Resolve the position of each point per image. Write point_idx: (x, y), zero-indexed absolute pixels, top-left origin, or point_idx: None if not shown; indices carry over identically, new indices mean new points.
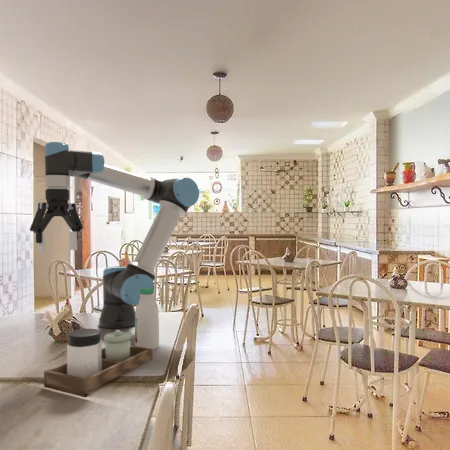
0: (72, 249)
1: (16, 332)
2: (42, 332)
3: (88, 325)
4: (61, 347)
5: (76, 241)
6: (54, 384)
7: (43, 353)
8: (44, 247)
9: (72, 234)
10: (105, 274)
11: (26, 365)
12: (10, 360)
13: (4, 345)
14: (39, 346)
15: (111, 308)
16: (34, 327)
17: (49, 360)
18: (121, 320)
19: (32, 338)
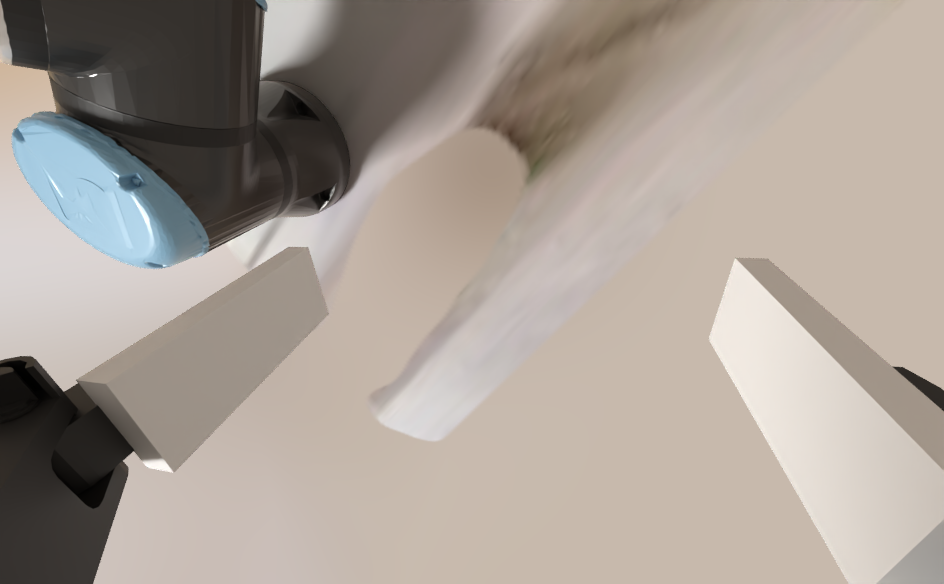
0: (317, 288)
1: (510, 338)
2: (477, 283)
3: (361, 224)
4: (563, 106)
5: (228, 291)
6: None
7: (637, 105)
8: (787, 293)
9: (187, 396)
10: (192, 217)
11: (769, 39)
12: (731, 142)
13: (611, 277)
14: (582, 182)
15: (291, 147)
16: (457, 334)
17: (698, 10)
18: (294, 107)
19: (531, 263)
